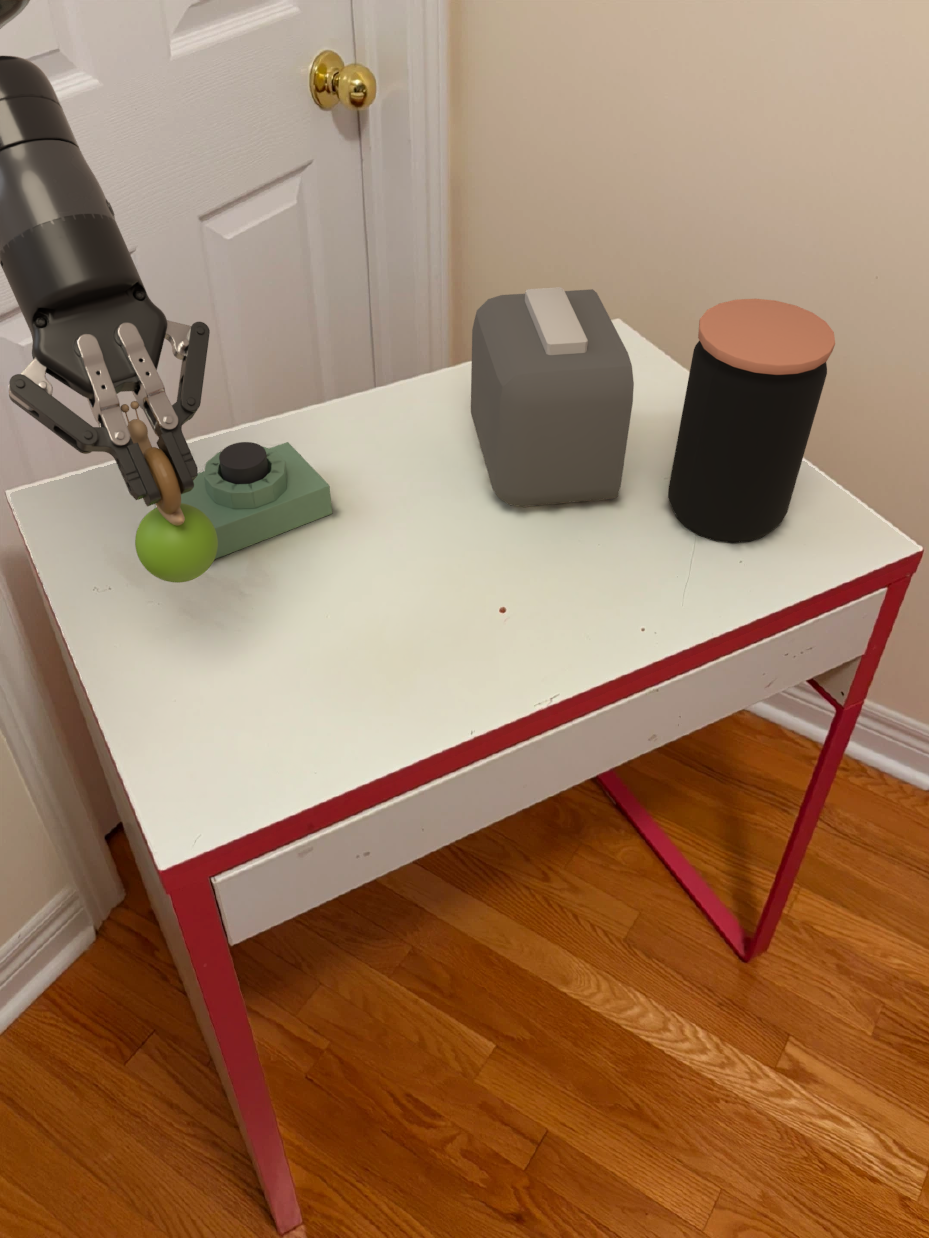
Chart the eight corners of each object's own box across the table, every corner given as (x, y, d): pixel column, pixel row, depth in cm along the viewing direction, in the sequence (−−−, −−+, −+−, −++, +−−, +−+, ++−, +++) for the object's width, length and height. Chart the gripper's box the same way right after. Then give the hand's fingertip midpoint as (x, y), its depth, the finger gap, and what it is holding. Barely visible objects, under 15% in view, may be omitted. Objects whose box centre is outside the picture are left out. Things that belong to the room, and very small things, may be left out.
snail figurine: (198, 529, 77) (167, 388, 68) (236, 579, 73) (208, 436, 64) (127, 556, 75) (86, 414, 66) (162, 609, 71) (123, 466, 62)
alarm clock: (616, 511, 95) (639, 358, 84) (493, 522, 94) (500, 368, 83) (575, 412, 106) (590, 266, 96) (465, 421, 105) (467, 274, 94)
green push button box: (208, 562, 89) (199, 516, 86) (171, 513, 94) (161, 467, 91) (332, 513, 94) (328, 468, 91) (291, 469, 99) (285, 424, 95)
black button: (234, 491, 89) (231, 474, 88) (214, 467, 91) (211, 451, 90) (276, 475, 91) (274, 459, 89) (256, 453, 93) (253, 436, 92)
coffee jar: (809, 520, 94) (865, 339, 82) (723, 563, 90) (768, 379, 77) (725, 462, 101) (765, 286, 88) (641, 499, 96) (670, 320, 84)
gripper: (153, 237, 72) (255, 474, 73) (-54, 289, 66) (61, 543, 68) (169, 187, 65) (281, 449, 66) (-60, 240, 59) (68, 524, 61)
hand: (170, 495), depth 67 cm, fingers closed on snail figurine
